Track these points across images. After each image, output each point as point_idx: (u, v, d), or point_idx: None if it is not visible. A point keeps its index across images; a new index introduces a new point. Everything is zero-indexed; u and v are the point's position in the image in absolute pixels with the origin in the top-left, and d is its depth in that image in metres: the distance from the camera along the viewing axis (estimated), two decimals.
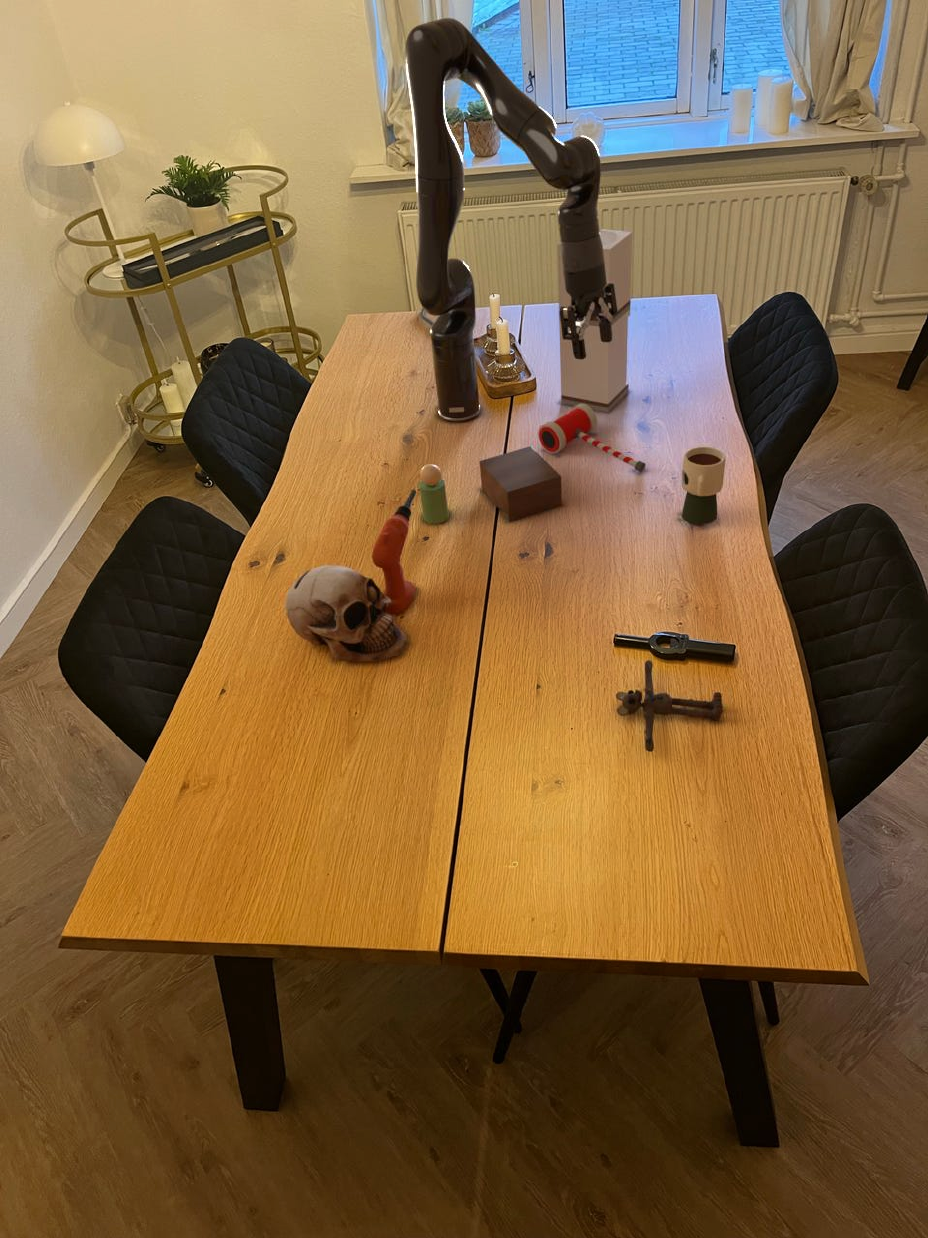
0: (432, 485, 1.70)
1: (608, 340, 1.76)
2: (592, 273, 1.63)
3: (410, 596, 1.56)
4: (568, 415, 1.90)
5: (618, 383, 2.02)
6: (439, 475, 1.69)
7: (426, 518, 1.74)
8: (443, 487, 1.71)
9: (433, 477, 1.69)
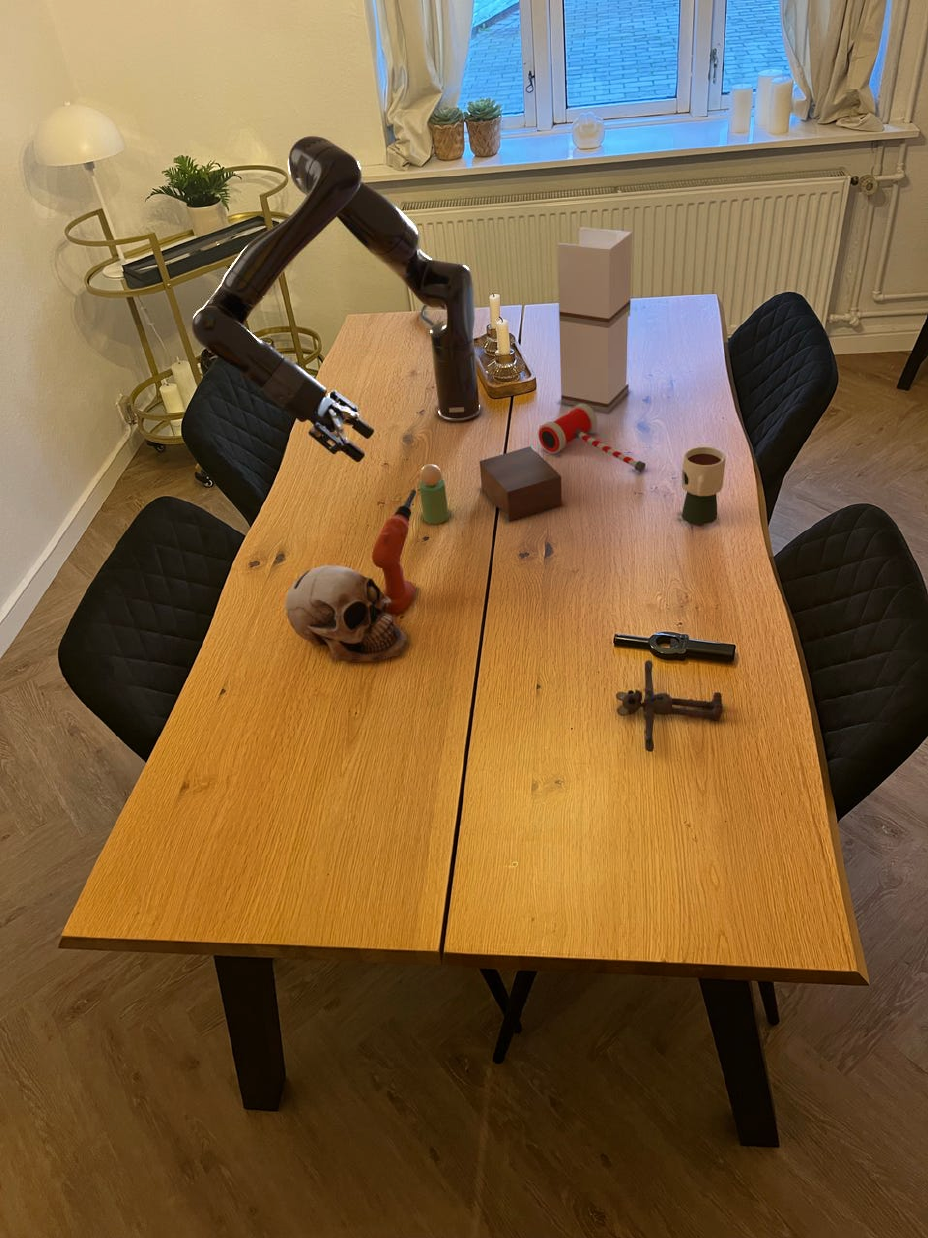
0: (432, 485, 1.70)
1: None
2: None
3: (410, 596, 1.56)
4: (568, 415, 1.90)
5: (618, 383, 2.02)
6: (439, 475, 1.69)
7: (426, 518, 1.74)
8: (443, 487, 1.71)
9: (433, 477, 1.69)
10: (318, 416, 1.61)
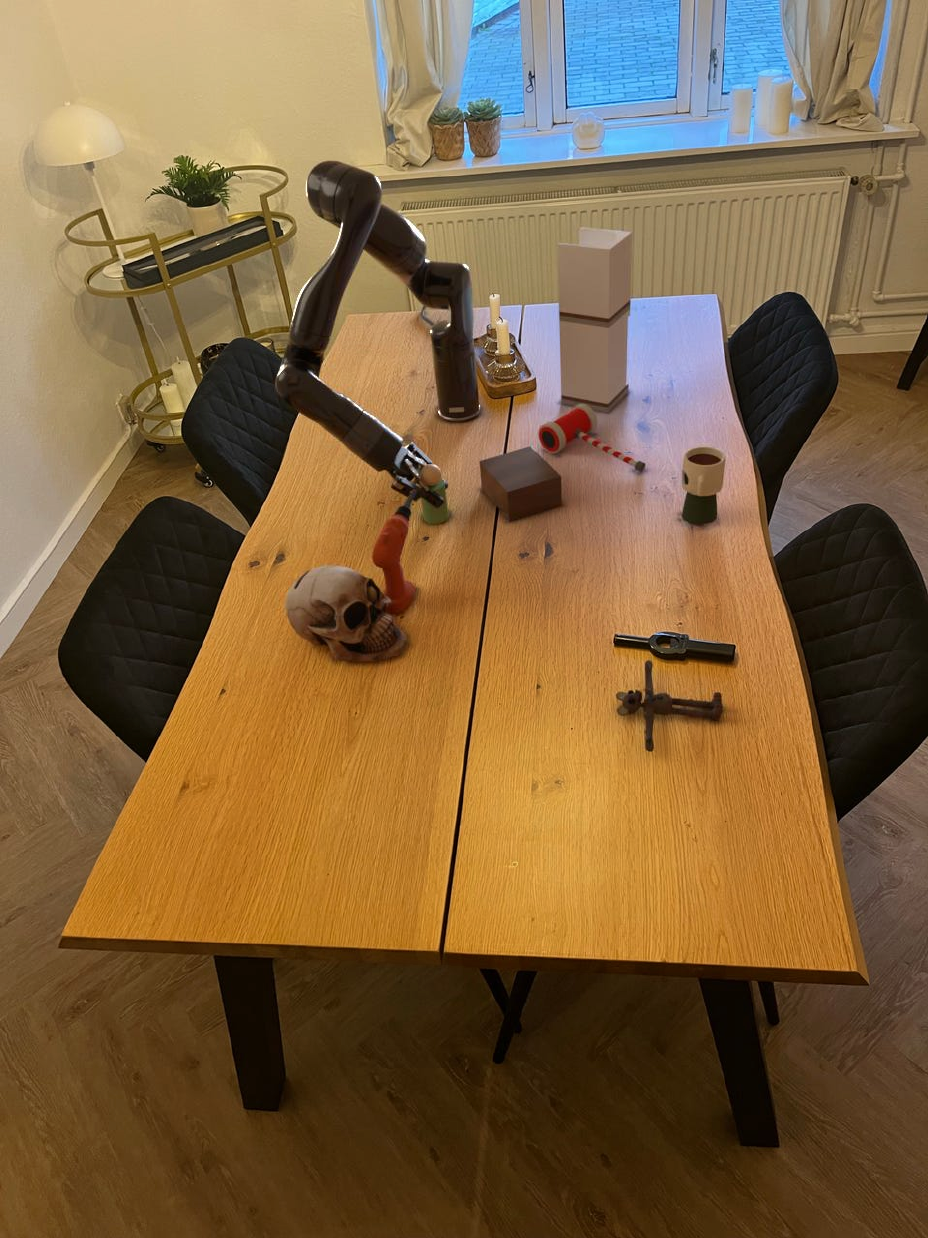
0: (432, 485, 1.70)
1: None
2: None
3: (410, 596, 1.56)
4: (568, 415, 1.90)
5: (618, 383, 2.02)
6: (439, 475, 1.69)
7: (426, 518, 1.74)
8: (443, 487, 1.71)
9: (433, 477, 1.68)
10: (396, 468, 1.66)
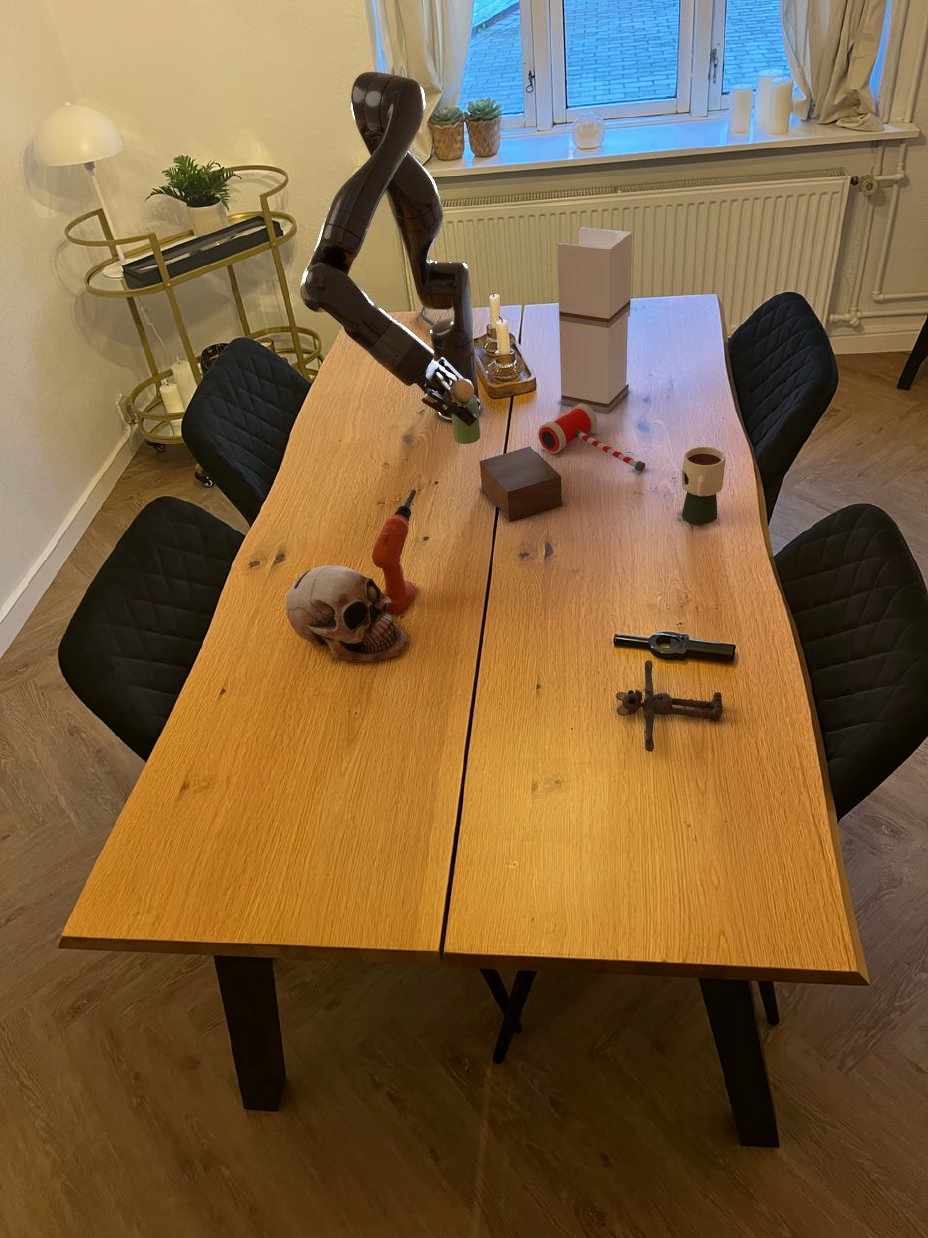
0: (464, 401, 1.62)
1: None
2: None
3: (410, 596, 1.56)
4: (568, 415, 1.90)
5: (618, 383, 2.02)
6: (472, 390, 1.61)
7: (457, 438, 1.66)
8: (476, 403, 1.62)
9: (465, 392, 1.60)
10: (427, 381, 1.57)
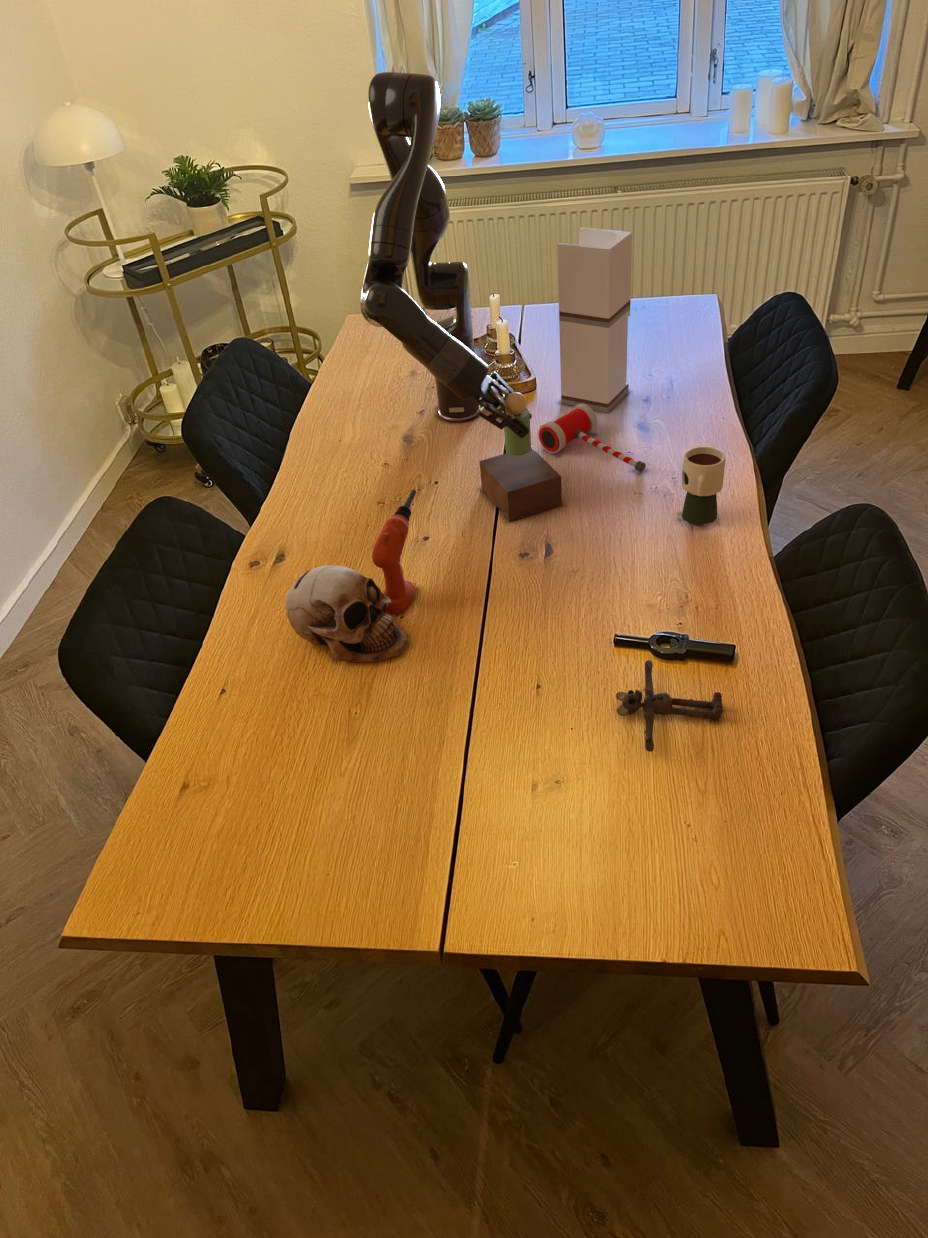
0: (517, 414, 1.66)
1: None
2: None
3: (410, 596, 1.56)
4: (568, 415, 1.90)
5: (618, 383, 2.02)
6: (525, 403, 1.65)
7: (509, 450, 1.70)
8: (528, 416, 1.67)
9: (519, 405, 1.64)
10: (482, 394, 1.62)
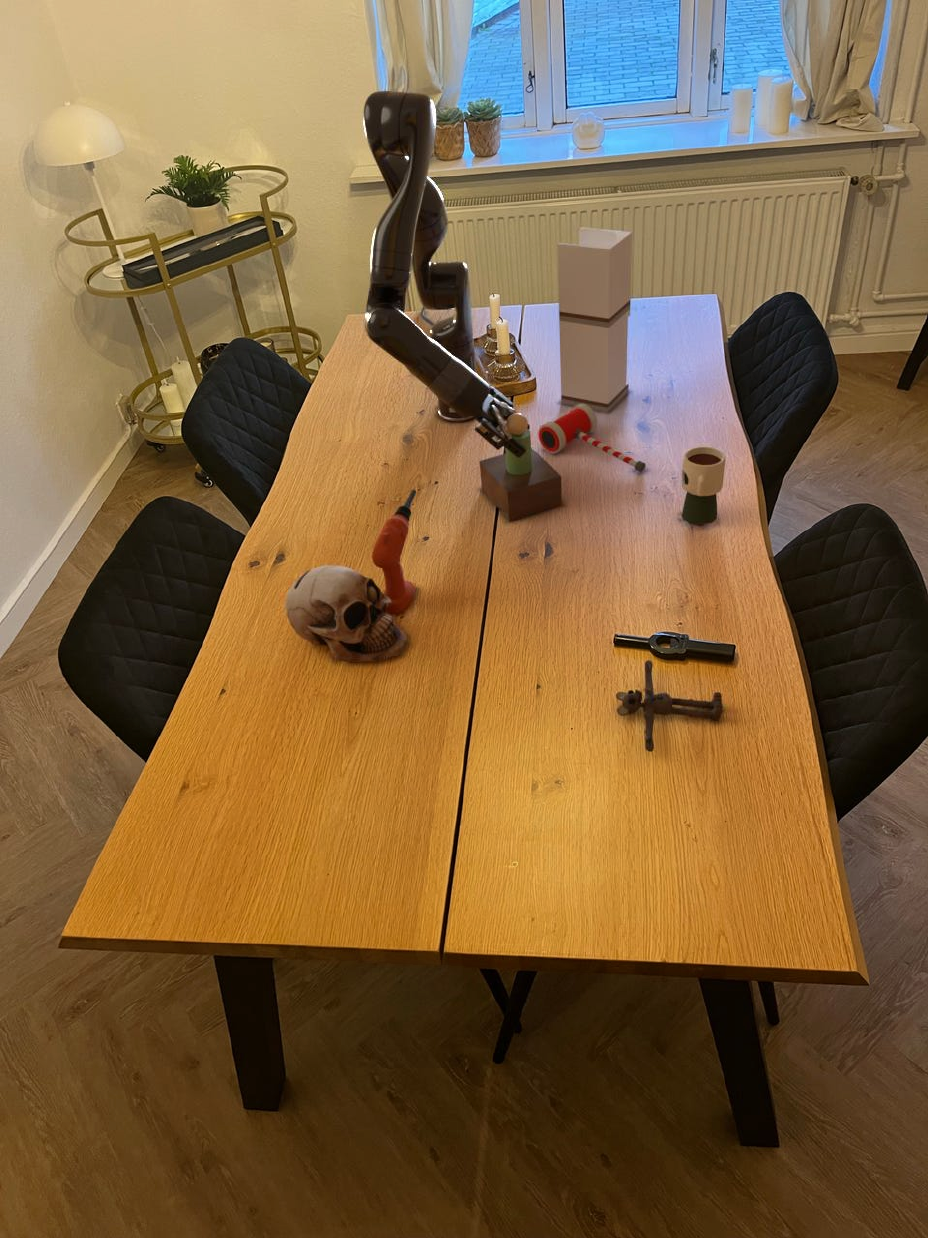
0: (518, 434, 1.68)
1: None
2: None
3: (410, 596, 1.56)
4: (568, 415, 1.90)
5: (618, 383, 2.02)
6: (526, 424, 1.68)
7: (510, 469, 1.73)
8: (529, 436, 1.69)
9: (520, 426, 1.67)
10: (483, 412, 1.64)
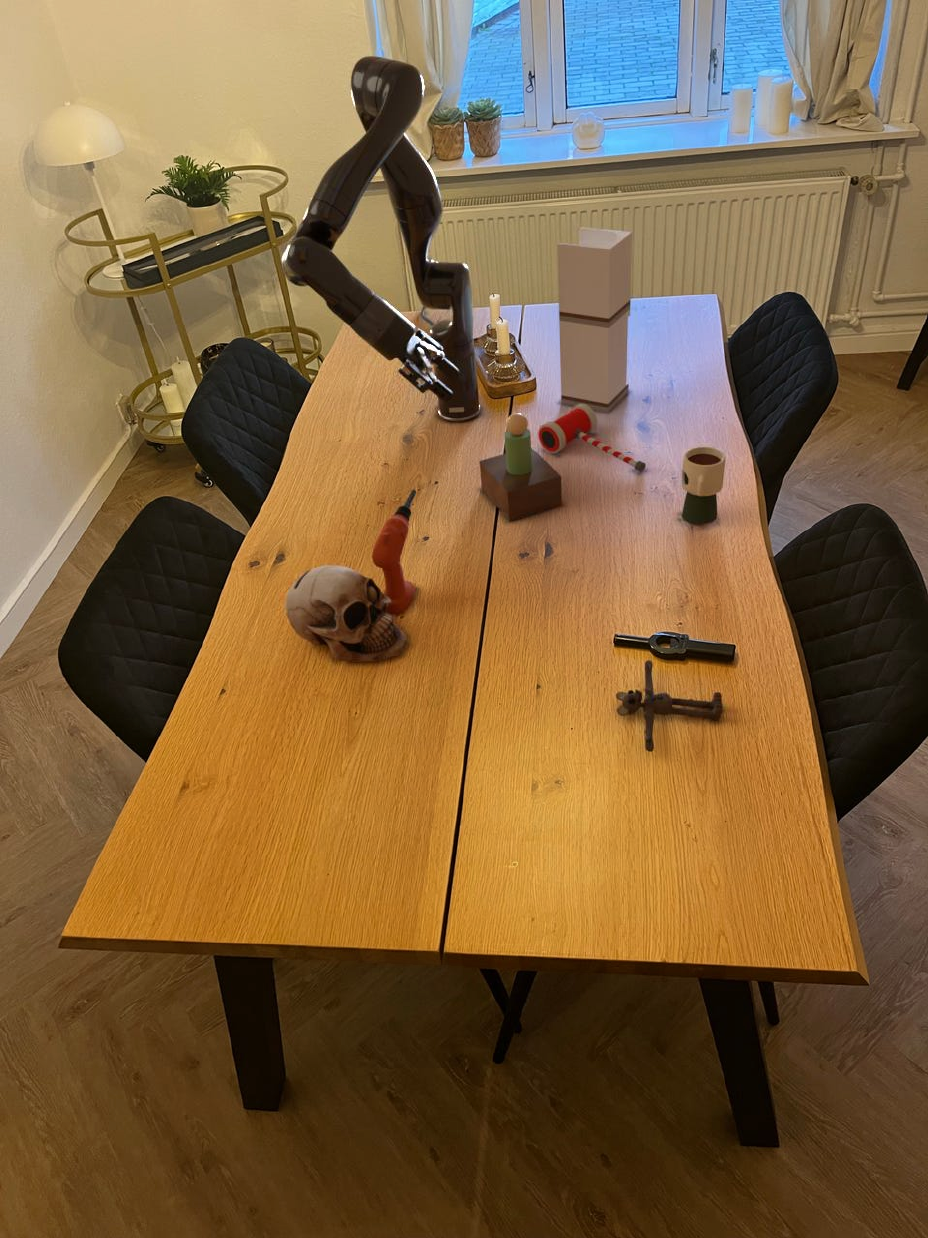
0: (518, 434, 1.68)
1: None
2: None
3: (410, 596, 1.56)
4: (568, 415, 1.90)
5: (618, 383, 2.02)
6: (526, 424, 1.68)
7: (510, 469, 1.73)
8: (529, 436, 1.69)
9: (520, 426, 1.67)
10: (407, 354, 1.59)
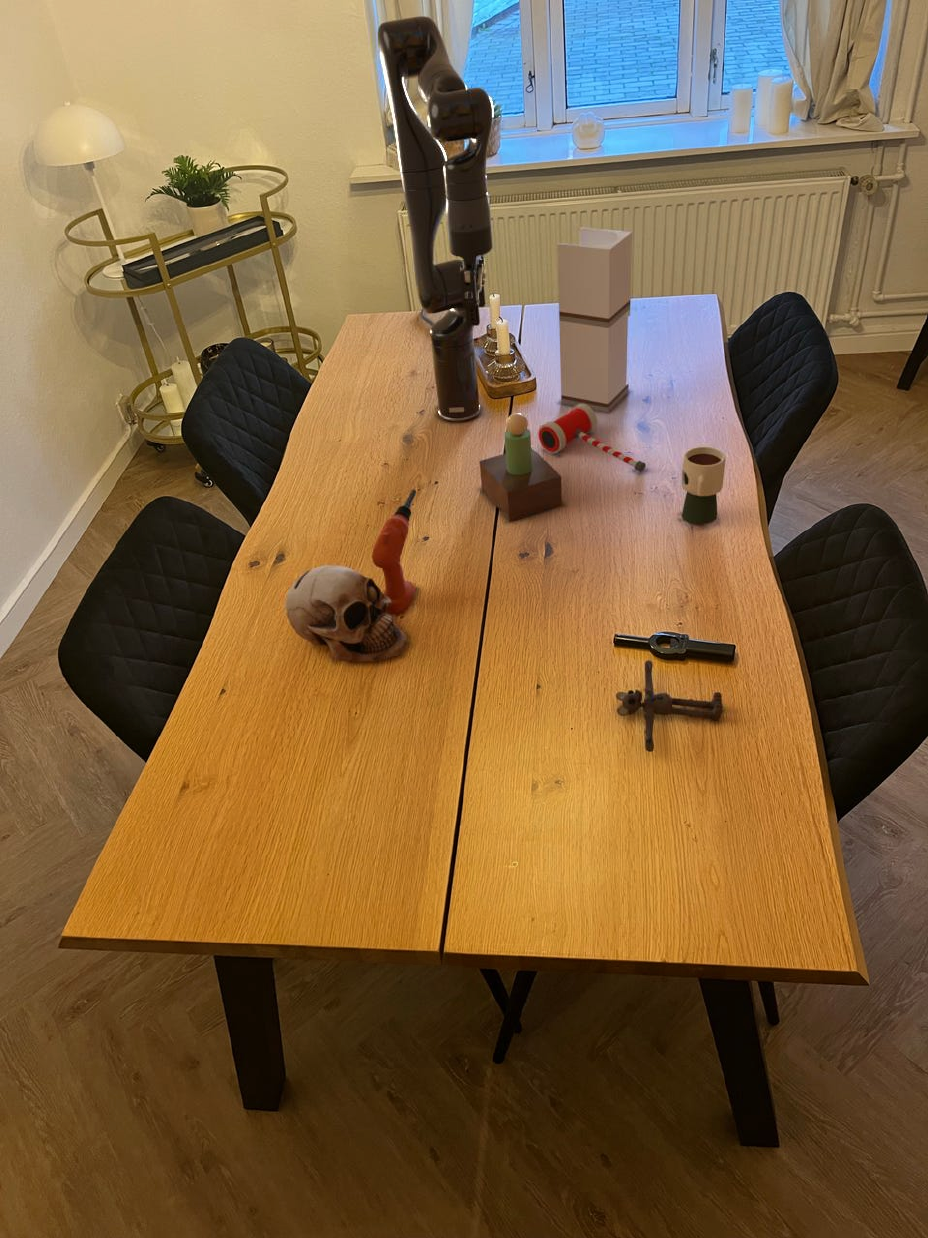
0: (518, 434, 1.68)
1: None
2: None
3: (410, 596, 1.56)
4: (568, 415, 1.90)
5: (618, 383, 2.02)
6: (526, 424, 1.68)
7: (510, 469, 1.73)
8: (529, 436, 1.69)
9: (520, 426, 1.67)
10: (474, 264, 1.58)
